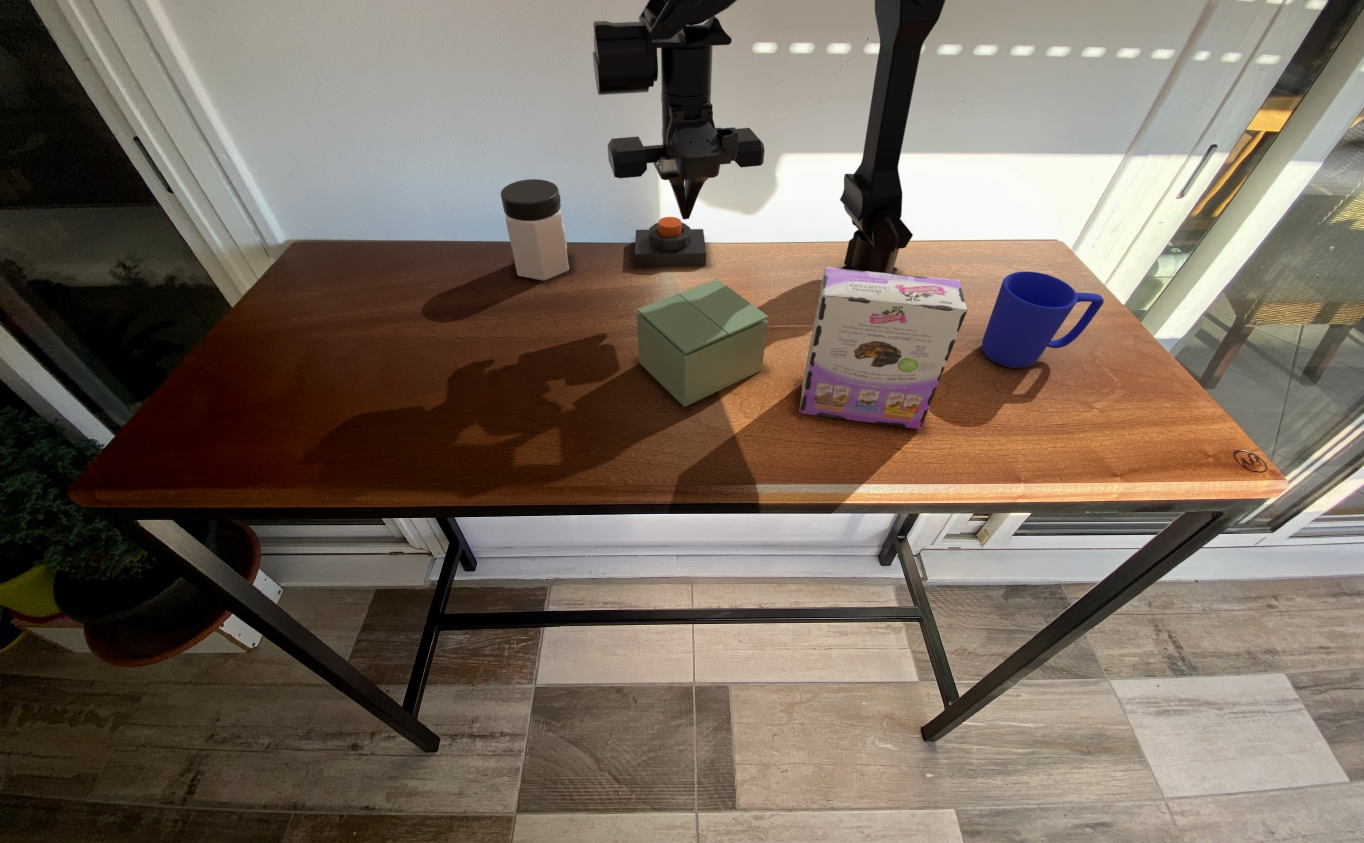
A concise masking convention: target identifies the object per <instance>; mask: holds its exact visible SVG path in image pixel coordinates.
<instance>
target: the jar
mask: <svg viewBox="0 0 1364 843" xmlns="http://www.w3.org/2000/svg"><path fill="white" fill-rule="evenodd" d="M500 198H501V202H502V208H503V212H504V220H505V224H506V229H507V233H508V237H509V242H510V247H511V251H512V256H513V261H514V267H515V271H516V275H517V276H518V277H521V278H527V279H533V280H538V281H543V282H544V281H548V280H550V279H552V278H554V277H557V276H559V275H562V274H564V273H567V272H569V270H570V265H569V259H568V258H569V257H568V251H567V248H568V246H567V245H568V244H567V237H566V230H565V224H564V222H563V215H562V208H561V207H562V205H561V202H562V200H561V194H560V191H559V187H558V186H557V185H556V184H555V182H551V181H548V180H545V179H539V178H535V179H533V178H532V179H522V180H517V181H514V182H511V183H509V184H507V185H506V186H504V187H503V188H502V189H501V191H500Z"/></svg>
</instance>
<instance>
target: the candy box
mask: <svg viewBox="0 0 1364 843" xmlns="http://www.w3.org/2000/svg"><path fill="white" fill-rule="evenodd" d="M821 280H822V281H821V285H820V291H819V294H818V295H819V296H818V300H817V305H816V312H815V317H814V322H813V326H812V327H813V328H812V332H811V337H810V342H809V347H808V353H807V357H806V362H805V367H804V373H803V378H802V384H801V392H800V394H801V395H800V401H799V413H801V414H803V415H809V416H818V417H827V418H832V419H837V420H848V421H854V422H861V423H869V424H876V425H883V426H884V425H885V426H892V427H894V426H895V427H899V428H907V429H915V430H921V429H922V427H923V425H924V422H925V420H926V418H927V414H928V412H929V409H930V407H931V404H932V401H933V398H934V396H935V393H936V391H937V388H938V385H939V383H940V380H941V378H942V376H943V373H944V370H945V368H946V365H947V363H948V360H949V358H950V356H951V354H952V350H953V347H954V345H955V342H956V340H957V338H958V334H959V332H960V330H961V327H962V325H963V322H964V320H965V317H966V315H967V312H968V307H967V305H966V300H965V296H964V293H963V288H962V284H961V282H960V280H959V279H949V278H939V277H926V276H916V275H906V274H896V273H895V274H888V273H878V272H869V271H858V270H848V269H843V268H840V267H839V268H838V267H829V266H825V267H824V270H823V275H822V279H821Z"/></svg>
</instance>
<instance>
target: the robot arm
mask: <svg viewBox="0 0 1364 843" xmlns="http://www.w3.org/2000/svg"><path fill="white" fill-rule="evenodd" d="M736 2H738V0H648V1H647V3H646V5H645V6H644V8H643V10H642V11H641V13H640V15H639V16H638V21H625V22H621V21H620V22H611V21H608V20H595V21H594V22H593V24H592V25H593V49H594V50H593V51H592V61H593V70H594V78H595V85H596V91H597V95H598V96H605V95H606V96H607V95H608V96H609V95H622V94H623V95H624V94H639V93H640V94H641V93H643V94H644V93H648V92H649V91H650V90H649V89H650V88H653V87H654V86H655V82H657V81H658V79H659V78H658V77H659V59H658V49H660V72H661V73H660V78H661V81H660V82H661V84H660V85H661V92H660V102H661V128H662V129H661V138H662V144H653V145H644V144H643V142H642V140H641V138H640V137H639V136H628V137H615V138H611V139H610V141H609V142H608V143H607V156H608V163H609V166H610V169H611V172H612V173H613V177H614V178H617V179H628V178H629V179H630V178H639V177H642V176H643V175H644V174H645V173H646V172H647V170H648V164H653V166H654V167H655V170H656V172H657V174H658V176H659V179H661V180H663V181H668V182H669V184H670V187H671V189H672V192H673V195H674V198H675V201H676V204H677V207H678V209H679V213H680V215H681V218H682V220H689V219H690V217H691V215H692V213H693V210H694V207H695V205H696V202H697V199H698V196H699V194H700V192H701V190H702V188H703V186H704V185H705V182H706V181H707V180H708V179H713V178H716V177H717V176H719V174H720V168H721V166H723V165H731V163H732V162H735V164H736V165H738V167H740V168H749V167H751V168H752V167H760V166H762V165H763V164H764V161H765V152H766V151H765V145H764V142H762V140H761V139H760V138H759V137H758V136H757V134H756V133H755V132H754V131H753V130H752V129H751V127H741V128H739V127H738V128H736V127H735V126H734V127H716V126H715V125H716V124H715V122H714V111H713V104H712V78H713V77H712V72H713V46H714V47H715V46H730V45H731V43H732V42H733V41H732V40H733V39H732V37H731V36H730V35H729V34H728V33H727V32H726V31H725V29H724V28H723V26H722V25H721V22H720V19H719V18H717V15H718V14H720V13H722V12H724V11H725V10H727V9H729V8H730V7H732V6H733V5H734V4H735V3H736ZM945 3H946V0H874V16H875V19H876V25H877V30H878V36H879V49H878V54H877V55H878V56H877V61H876V68H875V75H874V81H873V88H872V94H871V101H870V107H869V114H868V121H867V127H866V132H865V138H864V139H865V140H864V147H863V154H862V158H861V163H860V164H859V166H858V167H857V168H856V170H855V171H854V173H845V174H844V175H843V190H842V194H841V196H840V198H839V201H840V202H841V204H842V205H843V209H844V212H846V214H847V215H848V217H850V218H851V223H852V224H851V225H853V226H855V227H856V229H857V230H855V231H854V232H853V236H852V238H850V239H849V240H848V244H847V247H846V248H847V249H846V252H845V257H844V262H843V263H844V265H845V266H844V267H842V269H848V270H858V271H869V272H878V273H888V274H896V273H897V271H898V268H897V267H895V265H896V261H897V257H898V254H899V251H900V249H905V248H907V245H908V244H909V243H910V241H911V240H912V237H913V236H914V234H913V233H912V231H911V230H910V229H909V228H908V226H907V225H906V224H905V223H904V221H903V219H902V214H903V189H902V183H901V179H900V173H899V164H900V159H901V153H902V148H903V144H904V138H905V134H906V128H907V123H908V118H909V113H910V109H911V103H912V98H913V93H914V88H915V83H916V78H917V73H918V68H919V62H920V58H921V53H922V48H923V46H924V43H925V42H926V40H927V38H928V37H929V35H930V34H931V32H932V31H933V29H934V27H935V26H936V24H937V23H938V21H939V20H940V17H941V15H942V11H943V9H944V6H945ZM702 23H703V24H702Z"/></svg>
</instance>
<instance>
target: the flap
mask: <svg viewBox="0 0 1364 843" xmlns="http://www.w3.org/2000/svg"><path fill="white" fill-rule="evenodd" d="M678 294H679V295H680V296H681V297H683V298H684V299H685V300H686V301H688V302H689V303H690V304H691V305H693V306H694V307H695V308H696V309H698V310H699V311H700V312H701V313H703V314H704V315H705V316H706V317H708V318H709V319H710V320H711V321H713V322H714V323H715V324H716V325H718V326H719V327H720V328H721V329H723V330H724V331H725V332H726V333H727V334H728V335H731V334H733V333H735V332H738V331H740V330H742V329H744V328H747V327H749V326H751V325H754V324H756V323H758V322H760V321H763V320H765V319H766V320H767V319H769V315H767V314H766V313H764V312H763V311H762V310H760V309H759V308H757V307H756V306H755V305H754V304H752V303H751V302H750V301H748V300H747V299H746V298H744V297H743V296H741V294H739V293H737V292H736V291H735V290H733V289H732V288H730V287H729V286H728V285H726V284H725V283H723V282H722V281H720V280H719V279H718V278H716V279H712V280H710V281H708V282H705V283H703V284H700V285H697V286H695V287H691V288H689V289H687V290H684V291H682V292H679V293H678Z"/></svg>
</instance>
